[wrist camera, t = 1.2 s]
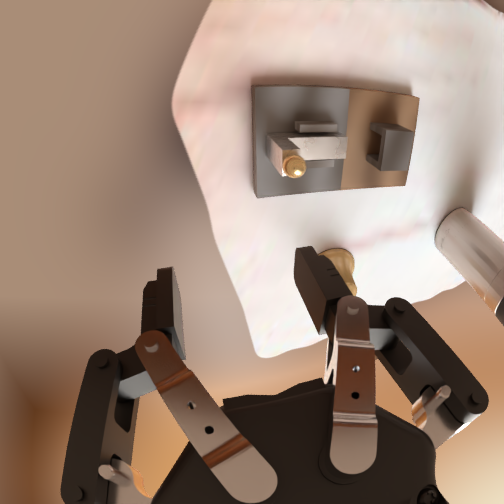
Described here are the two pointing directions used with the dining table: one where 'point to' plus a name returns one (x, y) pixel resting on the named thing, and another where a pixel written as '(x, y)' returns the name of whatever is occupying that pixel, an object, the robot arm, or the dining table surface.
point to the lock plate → (335, 120)
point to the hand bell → (343, 267)
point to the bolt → (303, 150)
